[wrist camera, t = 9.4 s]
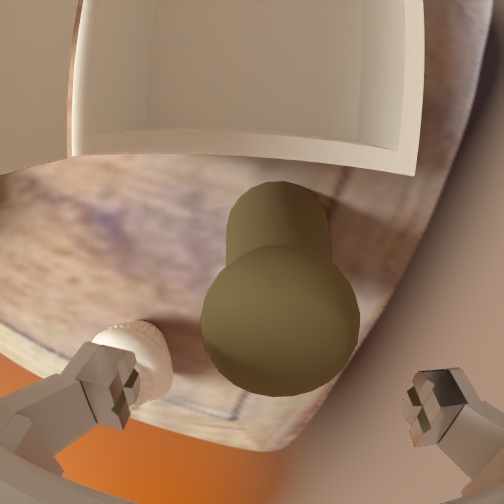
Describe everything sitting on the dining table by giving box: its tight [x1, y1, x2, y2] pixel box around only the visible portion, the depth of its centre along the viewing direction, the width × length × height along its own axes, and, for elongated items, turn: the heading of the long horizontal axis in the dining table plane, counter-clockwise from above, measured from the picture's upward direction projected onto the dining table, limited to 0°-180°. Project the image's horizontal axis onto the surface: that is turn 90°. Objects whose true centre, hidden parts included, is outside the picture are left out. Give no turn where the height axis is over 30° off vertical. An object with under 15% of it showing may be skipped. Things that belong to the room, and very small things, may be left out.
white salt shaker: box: [92, 320, 173, 411], centre depth 20 cm, size 6×6×7 cm
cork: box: [201, 181, 360, 397], centre depth 14 cm, size 6×6×11 cm
